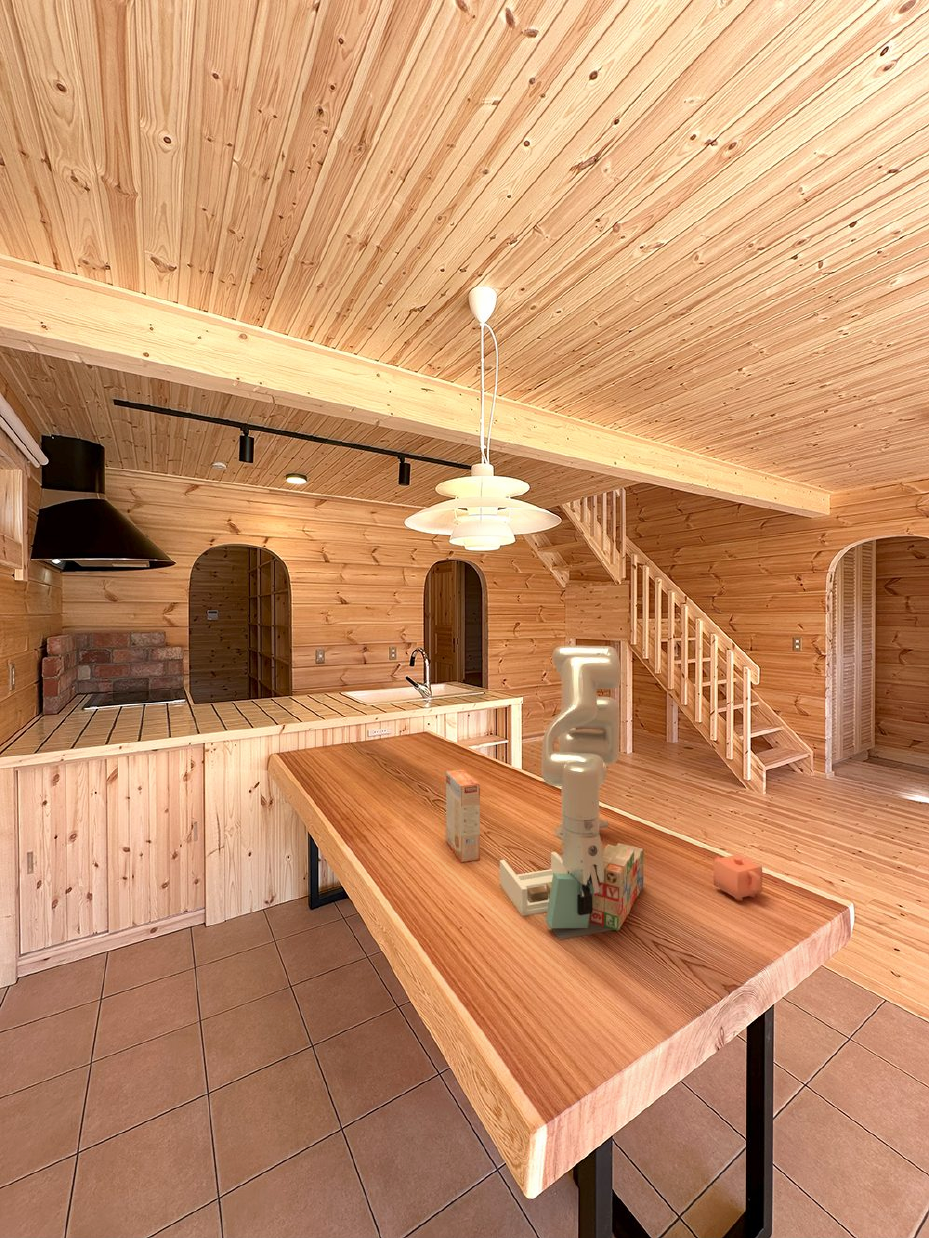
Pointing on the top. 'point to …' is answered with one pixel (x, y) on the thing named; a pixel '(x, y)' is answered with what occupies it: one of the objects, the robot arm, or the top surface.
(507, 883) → the rack
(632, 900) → the stack of blocks
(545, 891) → the walnut offcut
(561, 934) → the charcoal mat
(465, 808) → the cracker box
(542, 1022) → the top surface
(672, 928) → the top surface
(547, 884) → the pine offcut
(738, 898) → the pink cube teapot
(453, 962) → the top surface
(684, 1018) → the top surface
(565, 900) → the teal panel
